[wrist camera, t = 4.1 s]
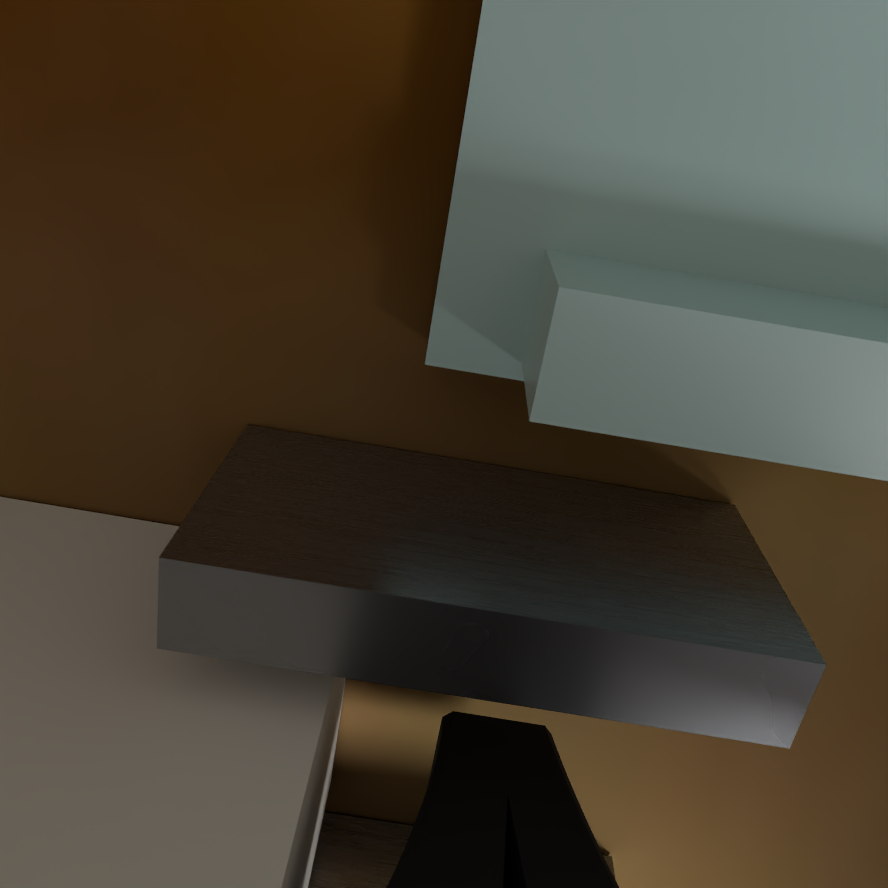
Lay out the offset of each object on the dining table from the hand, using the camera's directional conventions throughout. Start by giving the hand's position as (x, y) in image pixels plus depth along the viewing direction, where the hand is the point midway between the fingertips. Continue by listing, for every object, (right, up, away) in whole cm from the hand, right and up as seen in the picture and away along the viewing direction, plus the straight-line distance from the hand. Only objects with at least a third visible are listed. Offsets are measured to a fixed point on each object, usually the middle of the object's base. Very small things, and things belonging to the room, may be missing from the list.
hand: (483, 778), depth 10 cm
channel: (0, +1, +1) cm, 1 cm away
